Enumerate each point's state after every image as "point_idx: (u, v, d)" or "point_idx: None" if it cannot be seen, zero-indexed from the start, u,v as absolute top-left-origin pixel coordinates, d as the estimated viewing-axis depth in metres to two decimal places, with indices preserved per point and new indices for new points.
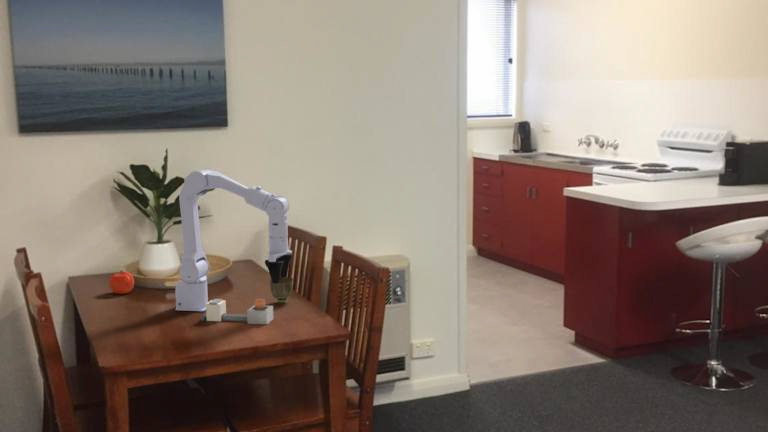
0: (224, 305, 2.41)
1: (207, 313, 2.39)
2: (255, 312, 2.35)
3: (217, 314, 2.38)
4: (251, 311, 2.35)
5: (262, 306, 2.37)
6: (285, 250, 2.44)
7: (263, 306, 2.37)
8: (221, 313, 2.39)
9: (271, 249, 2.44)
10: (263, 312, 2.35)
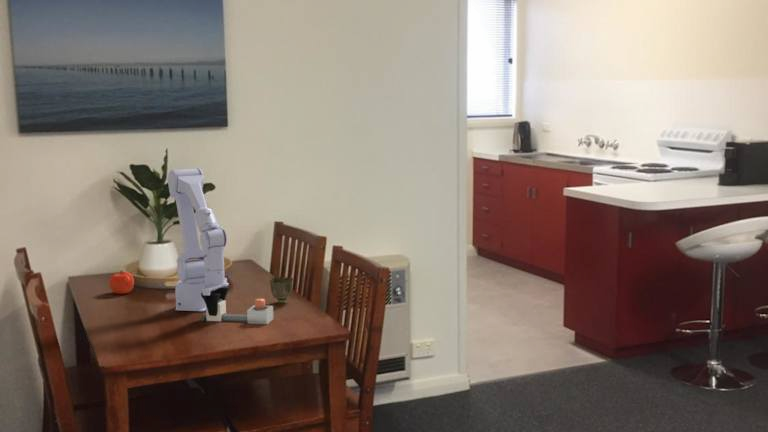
0: (224, 305, 2.41)
1: (207, 313, 2.39)
2: (255, 312, 2.35)
3: (217, 314, 2.38)
4: (251, 311, 2.35)
5: (262, 306, 2.37)
6: (221, 283, 2.38)
7: (263, 306, 2.37)
8: (221, 313, 2.39)
9: (206, 282, 2.37)
10: (263, 312, 2.35)
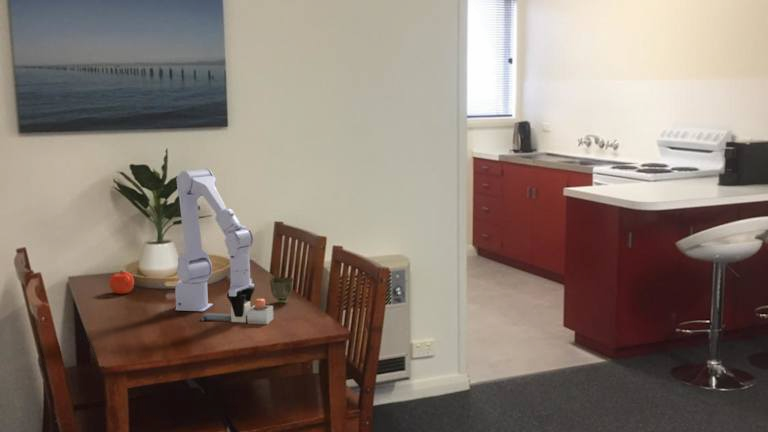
0: (249, 306, 2.40)
1: (232, 314, 2.37)
2: (255, 312, 2.35)
3: None
4: (251, 311, 2.35)
5: (262, 306, 2.37)
6: (247, 283, 2.36)
7: (263, 306, 2.37)
8: (246, 314, 2.38)
9: (232, 282, 2.36)
10: (263, 312, 2.35)
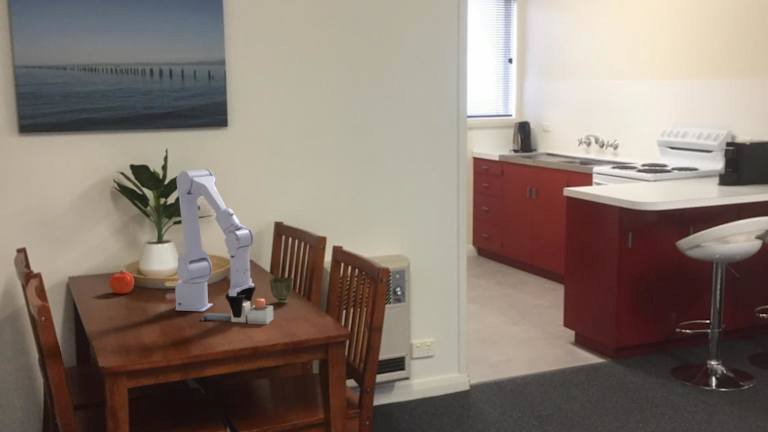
0: (249, 306, 2.40)
1: (232, 314, 2.37)
2: (255, 312, 2.35)
3: (242, 315, 2.37)
4: (251, 311, 2.35)
5: (262, 306, 2.37)
6: (247, 283, 2.36)
7: (263, 306, 2.37)
8: (246, 314, 2.38)
9: (232, 282, 2.36)
10: (263, 312, 2.35)
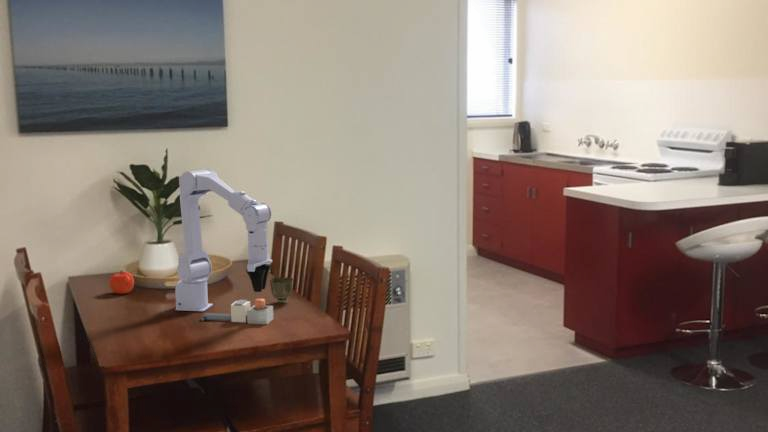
0: (249, 306, 2.40)
1: (232, 314, 2.37)
2: (255, 312, 2.35)
3: (242, 315, 2.37)
4: (251, 311, 2.35)
5: (262, 306, 2.37)
6: (265, 259, 2.34)
7: (263, 306, 2.37)
8: (246, 314, 2.38)
9: (250, 258, 2.34)
10: (263, 312, 2.35)
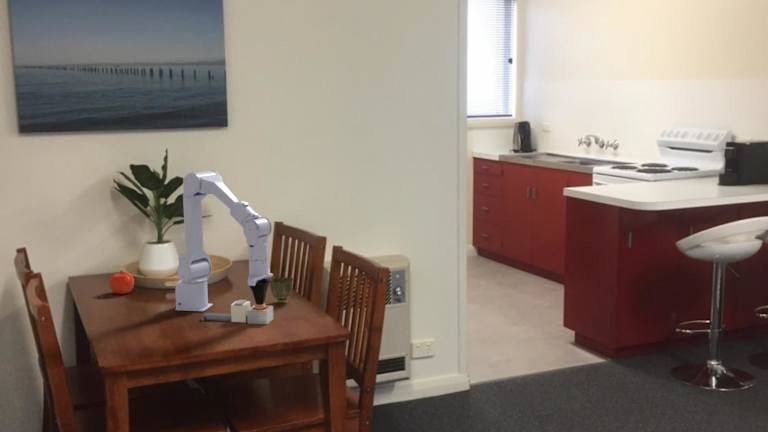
0: (249, 306, 2.40)
1: (232, 314, 2.37)
2: (255, 312, 2.35)
3: (242, 315, 2.37)
4: (251, 311, 2.35)
5: None
6: (265, 273, 2.35)
7: None
8: (246, 314, 2.38)
9: (251, 272, 2.34)
10: (263, 312, 2.35)
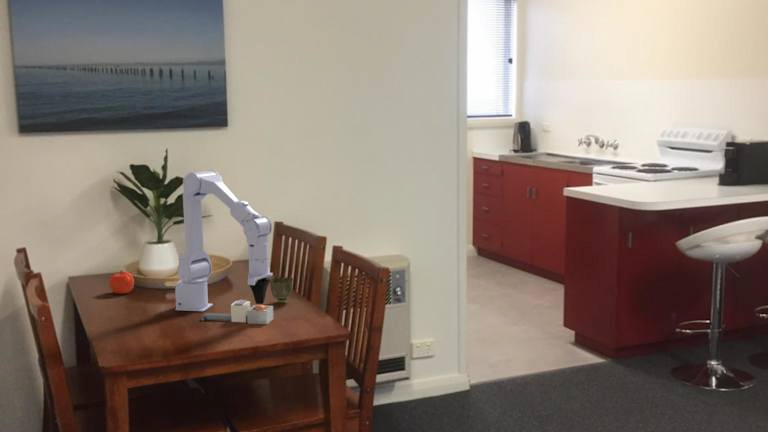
0: (249, 306, 2.40)
1: (232, 314, 2.37)
2: (255, 312, 2.35)
3: (242, 315, 2.37)
4: (251, 311, 2.35)
5: None
6: (265, 272, 2.35)
7: None
8: (246, 314, 2.38)
9: (251, 271, 2.34)
10: (263, 312, 2.35)
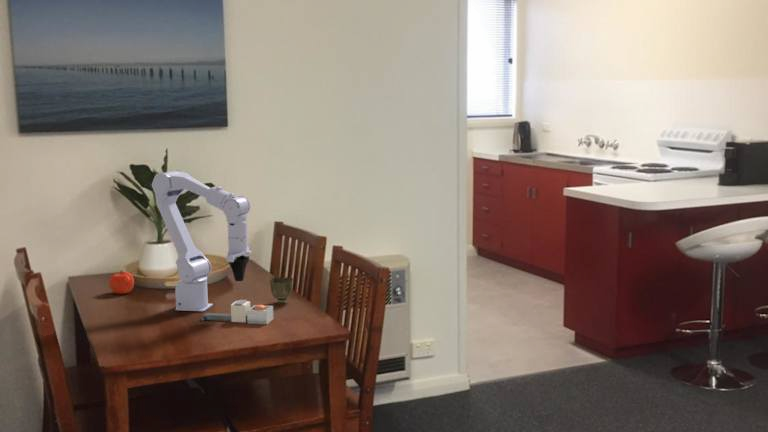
0: (249, 306, 2.40)
1: (232, 314, 2.37)
2: (255, 312, 2.35)
3: (242, 315, 2.37)
4: (251, 311, 2.35)
5: None
6: (244, 250, 2.42)
7: None
8: (246, 314, 2.38)
9: (230, 249, 2.42)
10: (263, 312, 2.35)
